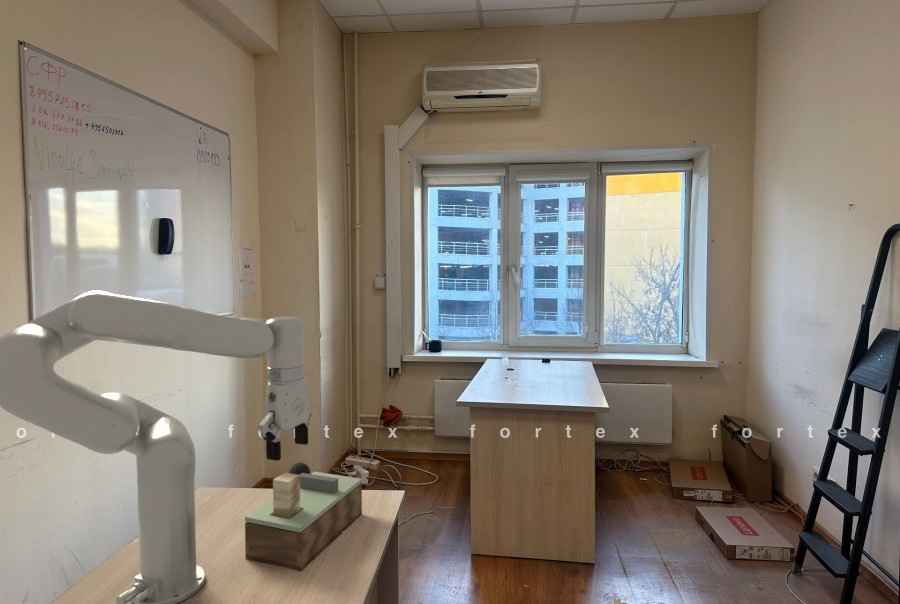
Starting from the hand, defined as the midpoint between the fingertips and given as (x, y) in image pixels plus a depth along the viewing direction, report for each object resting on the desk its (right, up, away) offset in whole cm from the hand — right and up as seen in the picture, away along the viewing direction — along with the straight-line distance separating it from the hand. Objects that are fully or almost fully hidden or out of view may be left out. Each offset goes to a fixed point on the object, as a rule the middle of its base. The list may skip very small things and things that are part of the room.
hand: (288, 451), depth 109 cm
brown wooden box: (+2, -22, +9) cm, 24 cm away
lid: (+2, -14, +8) cm, 16 cm away
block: (-1, -18, +1) cm, 18 cm away
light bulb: (-6, -21, +27) cm, 35 cm away
